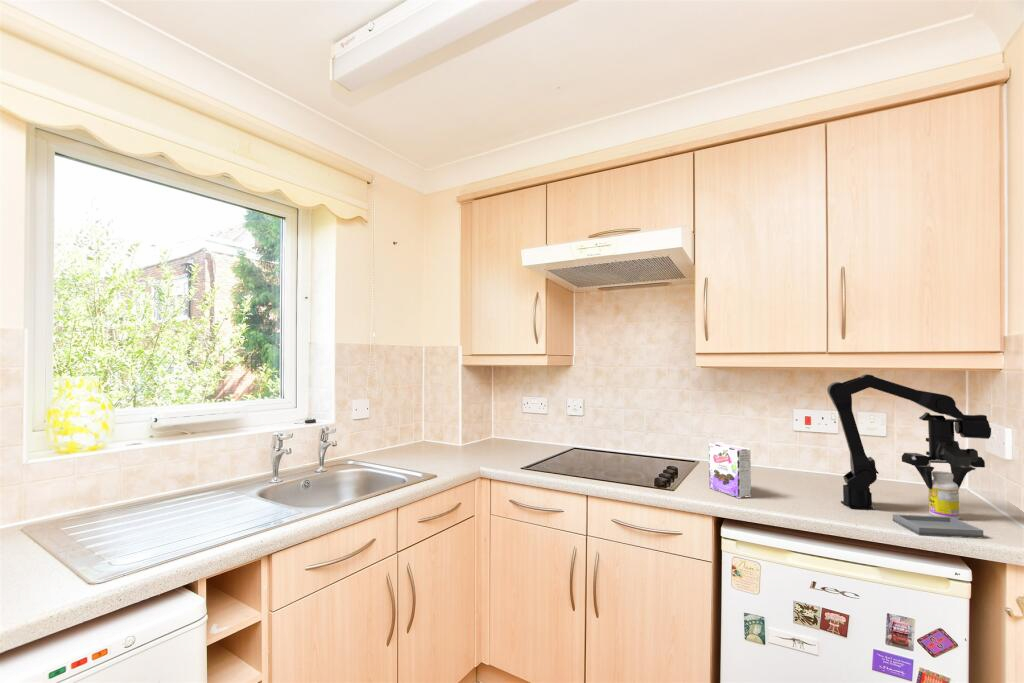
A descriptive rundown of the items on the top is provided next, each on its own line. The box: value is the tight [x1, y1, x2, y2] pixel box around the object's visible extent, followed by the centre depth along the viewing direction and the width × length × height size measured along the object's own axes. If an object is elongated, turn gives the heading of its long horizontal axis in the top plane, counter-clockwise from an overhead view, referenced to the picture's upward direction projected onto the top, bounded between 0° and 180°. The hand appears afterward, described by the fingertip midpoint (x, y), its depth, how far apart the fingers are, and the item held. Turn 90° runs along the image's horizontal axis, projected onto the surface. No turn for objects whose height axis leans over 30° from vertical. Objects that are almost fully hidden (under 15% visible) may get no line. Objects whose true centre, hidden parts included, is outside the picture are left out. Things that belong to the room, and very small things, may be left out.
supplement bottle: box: [928, 470, 960, 520], centre depth 141 cm, size 7×7×13 cm
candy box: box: [708, 441, 752, 498], centre depth 167 cm, size 14×6×16 cm, turn 20°
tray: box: [892, 513, 984, 539], centre depth 131 cm, size 15×11×2 cm
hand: (943, 489), depth 141 cm, fingers closed on supplement bottle, 7 cm apart
